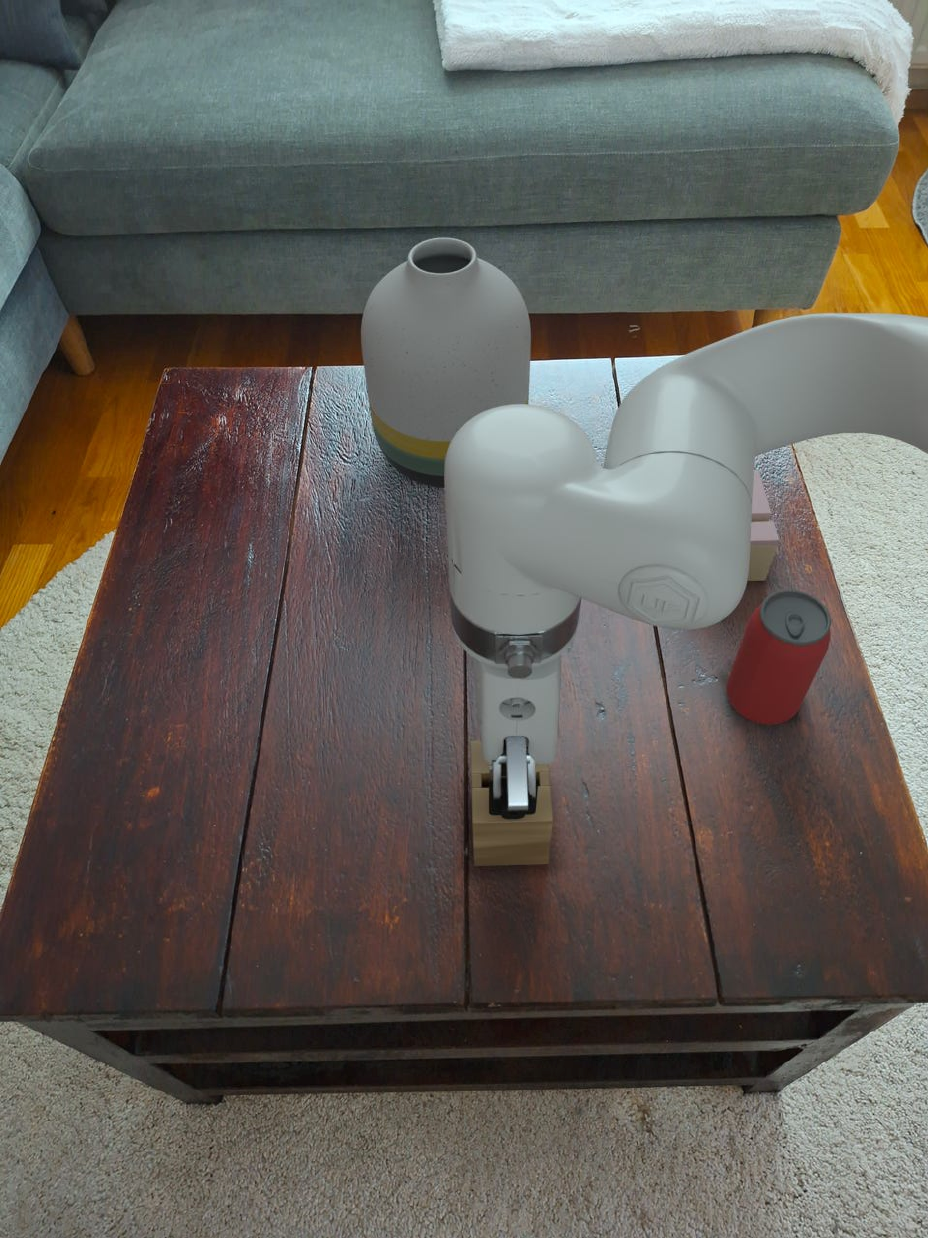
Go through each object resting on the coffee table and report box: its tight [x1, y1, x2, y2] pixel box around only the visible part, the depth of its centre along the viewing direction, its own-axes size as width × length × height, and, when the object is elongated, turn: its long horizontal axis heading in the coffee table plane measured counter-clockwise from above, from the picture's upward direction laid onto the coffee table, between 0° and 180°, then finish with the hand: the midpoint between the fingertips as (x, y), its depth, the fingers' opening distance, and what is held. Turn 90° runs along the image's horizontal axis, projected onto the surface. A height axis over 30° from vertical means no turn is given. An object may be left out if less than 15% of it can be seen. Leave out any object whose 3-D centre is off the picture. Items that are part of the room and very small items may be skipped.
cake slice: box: [747, 520, 780, 582], centre depth 91 cm, size 2×9×6 cm, turn 91°
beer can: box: [725, 589, 832, 726], centre depth 80 cm, size 7×7×12 cm
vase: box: [360, 237, 532, 489], centre depth 96 cm, size 17×17×24 cm
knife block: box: [469, 740, 554, 867], centre depth 74 cm, size 7×6×8 cm
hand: (508, 749), depth 68 cm, fingers open, 9 cm apart
